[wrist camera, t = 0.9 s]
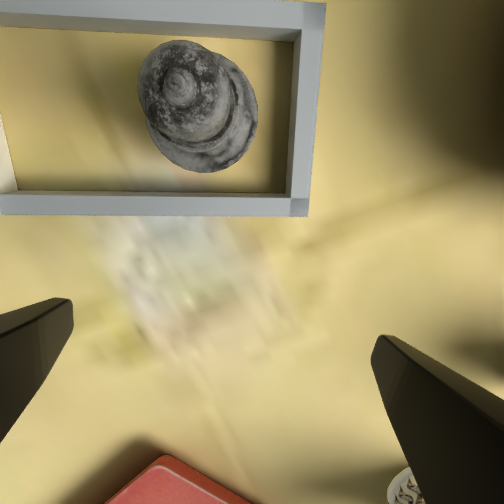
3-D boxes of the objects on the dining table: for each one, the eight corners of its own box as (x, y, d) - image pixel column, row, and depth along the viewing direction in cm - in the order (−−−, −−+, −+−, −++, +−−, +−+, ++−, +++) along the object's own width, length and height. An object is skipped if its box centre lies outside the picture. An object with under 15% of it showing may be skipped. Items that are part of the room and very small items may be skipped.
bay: (3, 208, 20) (-35, 218, 17) (-51, -4, 16) (-111, -36, 13) (300, 210, 21) (311, 220, 18) (315, 18, 17) (332, -6, 15)
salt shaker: (267, 145, 20) (320, 142, 8) (187, 183, 20) (135, 229, 9) (228, 49, 18) (229, -124, 6) (141, 93, 18) (-4, 3, 7)
